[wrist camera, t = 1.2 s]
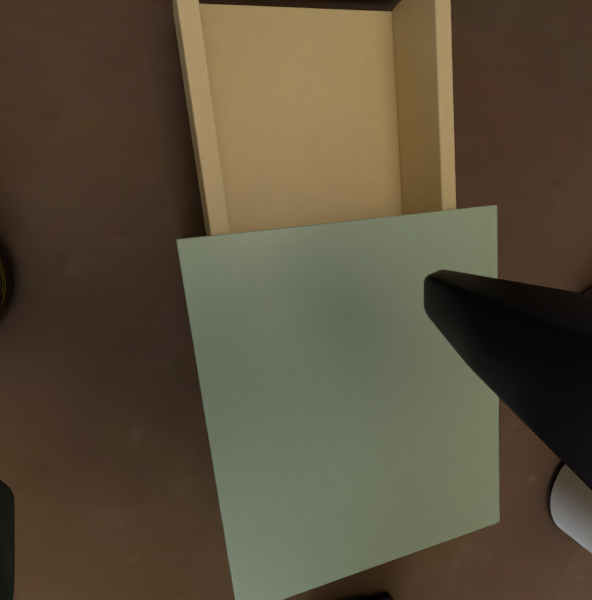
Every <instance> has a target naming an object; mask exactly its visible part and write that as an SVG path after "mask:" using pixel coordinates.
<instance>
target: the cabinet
mask: <svg viewBox="0 0 592 600" xmlns="http://www.w3.org/2000/svg"><path fill="white" fill-rule="evenodd" d="M176 242H177V248H178V254H179V261H180V267H181V273H182V279H183V285H184V291H185V297H186V303H187V310H188V316H189V322H190V328H191V334H192V340H193V346H194V352H195V359H196V365H197V371H198V377H199V383H200V389H201V395H202V401H203V407H204V414H205V420H206V426H207V432H208V438H209V444H210V450H211V456H212V463H213V469H214V475H215V481H216V487H217V493H218V499H219V505H220V511H221V518H222V524H223V530H224V536H225V542H226V548H227V554H228V560H229V567H230V573H231V579H232V585H233V591H234V597H235V600H282V599H285V598H288V597H291V596H293V595H296V594H299V593H302V592H305V591H307V590H310V589H313V588H316V587H319V586H322V585H324V584H327V583H330V582H333V581H336V580H338V579H341V578H344V577H347V576H350V575H352V574H355V573H358V572H361V571H364V570H366V569H369V568H372V567H375V566H378V565H380V564H383V563H386V562H389V561H392V560H394V559H397V558H400V557H403V556H406V555H408V554H411V553H414V552H417V551H420V550H422V549H425V548H428V547H431V546H434V545H436V544H439V543H442V542H445V541H448V540H450V539H453V538H456V537H459V536H462V535H465V534H467V533H470V532H473V531H476V530H479V529H481V528H484V527H487V526H490V525H493V524H495V523H498V522H499V397H498V396H497V395H496V394H495V393H494V392H493V391H492V390H491V389H490V388H489V387H488V386H487V385H486V384H485V383H484V382H483V381H482V380H481V379H480V378H479V377H478V376H477V375H476V374H475V373H474V372H473V371H472V369H471V368H470V367H469V366H468V365H467V364H466V363H465V362H464V360H463V359H462V358H461V357H460V356H459V354H458V353H457V352H456V351H455V349H454V348H453V347H452V346H451V344H450V343H449V342H448V341H447V340H446V338H445V337H444V336H443V335H442V333H441V332H440V331H439V330H438V328H437V327H436V326H435V325H434V323H433V322H432V321H431V320H430V318H429V317H428V316H427V314H426V312H425V310H424V279H425V277H426V276H427V275H429V274H431V273H434V272H436V271H438V270H442V269H444V270H451V271H456V272H462V273H468V274H474V275H479V276H485V277H491V278H497V279H498V266H497V205H492V206H482V207H473V208H464V209H454V210H445V211H436V212H426V213H417V214H407V215H398V216H389V217H379V218H370V219H361V220H351V221H342V222H332V223H323V224H314V225H304V226H295V227H286V228H276V229H267V230H257V231H248V232H239V233H229V234H220V235H211V236H201V237H192V238H182V239H177V240H176Z"/></svg>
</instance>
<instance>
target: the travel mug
mask: <svg viewBox="0 0 592 600" xmlns="http://www.w3.org/2000/svg"><path fill="white" fill-rule="evenodd" d="M550 508H551V514H552V517H553V520H554V522H555V523H556V525H557V526H558V527H559V528H560V529H561V530H563V531H564V532H565V533H567V534H568V535H569V536H570V537H572V538H573V539H574V540H576V541H577V542H578V543H579V544H581V545H582V546H583V547H584V548H586V549H587V550H588V551H590V552H591V553H592V491H591V490H590V489H589V488H588V487H587V486H586V485H585V483H584V482H583V481H582V480H581V479H580V478H579V477H578V476H577V475H576V474H575V473H574V472H573V471H572V470H571V469H570V468H569V467H568V466H567V465H566V464H565V465H564V466H563V468H562V469H561V470H560V472H559V474H558V476H557V478H556V480H555V483H554V485H553V489H552V493H551V500H550Z"/></svg>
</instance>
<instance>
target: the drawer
mask: <svg viewBox="0 0 592 600" xmlns="http://www.w3.org/2000/svg"><path fill="white" fill-rule="evenodd" d="M172 3H173V15H174V22H175V29H176V35H177V42H178V49H179V56H180V62H181V69H182V76H183V82H184V89H185V96H186V103H187V109H188V116H189V123H190V130H191V136H192V143H193V150H194V157H195V163H196V170H197V177H198V183H199V190H200V197H201V204H202V210H203V217H204V224H205V231H206V236H211V235H220V234H229V233H239V232H248V231H257V230H267V229H276V228H286V227H295V226H304V225H314V224H323V223H332V222H342V221H351V220H361V219H370V218H379V217H389V216H398V215H407V214H417V213H426V212H436V211H445V210H454V209H456V188H455V151H454V114H453V78H452V41H451V4H450V0H401V1H400V3H399V4H398V5H397V6H396V7H395V8H394V9H393V11H392V12H389V11H365V10H341V9H317V8H293V7H269V6H246V5H222V4H199V0H172Z"/></svg>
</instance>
